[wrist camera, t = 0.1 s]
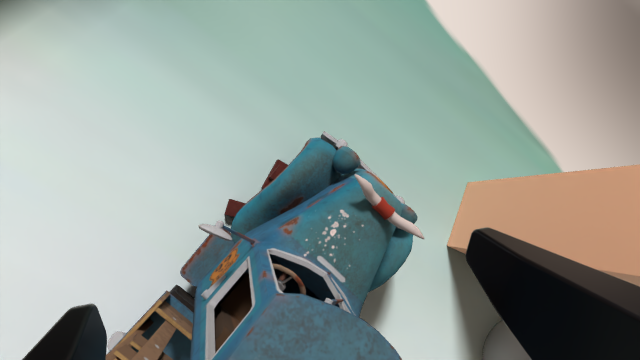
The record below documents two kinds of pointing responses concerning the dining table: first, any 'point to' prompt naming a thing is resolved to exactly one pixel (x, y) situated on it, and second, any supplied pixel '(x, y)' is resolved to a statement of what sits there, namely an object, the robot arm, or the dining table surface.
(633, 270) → the peach block
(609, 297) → the robot arm
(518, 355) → the grey domed cylinder
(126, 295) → the dining table surface
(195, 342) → the toy truck
